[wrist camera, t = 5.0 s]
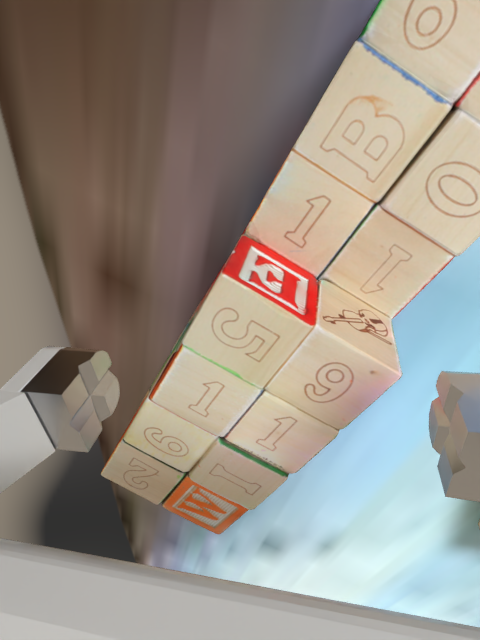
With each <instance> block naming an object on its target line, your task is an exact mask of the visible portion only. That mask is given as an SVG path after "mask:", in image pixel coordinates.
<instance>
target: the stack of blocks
mask: <svg viewBox="0 0 480 640" xmlns="http://www.w3.org/2000/svg"><path fill="white" fill-rule="evenodd" d="M479 236H480V0H380V1H379V3H378V5H377V7H376V9H375V10H374V12H373V14H372V16H371V17H370V19H369V21H368V23H367V24H366V26H365V28H364V29H363V31H362V33H361V35H360V36H359V38H358V39H357V40H356V41H355V42H354V44H353V45H352V47H351V49H350V50H349V52H348V54H347V56H346V57H345V59H344V61H343V62H342V64H341V66H340V67H339V69H338V71H337V73H336V74H335V76H334V78H333V79H332V81H331V83H330V85H329V86H328V88H327V90H326V91H325V93H324V95H323V96H322V98H321V100H320V102H319V103H318V105H317V107H316V108H315V110H314V112H313V114H312V115H311V117H310V119H309V120H308V122H307V124H306V126H305V127H304V129H303V131H302V132H301V134H300V136H299V137H298V139H297V141H296V143H295V144H294V146H293V148H292V149H291V151H290V153H289V155H288V156H287V158H286V160H285V161H284V163H283V165H282V167H281V168H280V170H279V172H278V173H277V175H276V177H275V179H274V180H273V182H272V184H271V186H270V187H269V189H268V191H267V193H266V195H265V196H264V198H263V200H262V202H261V203H260V205H259V207H258V209H257V210H256V212H255V214H254V215H253V216H252V218H251V220H250V222H249V224H248V225H247V227H246V229H245V230H244V232H243V234H242V235H241V236H240V238H239V240H238V242H237V244H236V246H235V247H234V249H233V251H232V253H231V254H230V256H229V258H228V259H227V261H226V263H225V264H224V265H223V267H222V269H221V270H220V272H219V273H218V275H217V277H216V278H215V280H214V282H213V283H212V285H211V286H210V288H209V290H208V291H207V293H206V295H205V296H204V298H203V299H202V300H201V302H200V303H199V305H198V307H197V308H196V310H195V312H194V313H193V315H192V317H191V318H190V320H189V321H188V323H187V325H186V326H185V328H184V330H183V331H182V333H181V335H180V336H179V338H178V340H177V342H176V343H175V345H174V347H173V348H172V350H171V354H170V355H169V357H168V358H167V360H166V361H165V363H164V365H163V366H162V368H161V370H160V371H159V373H158V375H157V376H156V378H155V380H154V382H153V383H152V385H151V387H150V389H149V390H148V392H147V394H146V395H145V397H144V399H143V401H142V402H141V404H140V406H139V408H138V410H137V411H136V413H135V415H134V417H133V418H132V420H131V422H130V424H129V426H128V427H127V429H126V430H125V432H124V434H123V436H122V437H121V439H120V441H119V442H118V444H117V446H116V448H115V449H114V451H113V453H112V454H111V456H110V458H109V460H108V461H107V463H106V465H105V466H104V468H103V470H102V472H101V475H102V476H103V477H105V478H107V479H109V480H111V481H113V482H115V483H116V484H118V485H120V486H122V487H124V488H126V489H128V490H130V491H132V492H134V493H135V494H137V495H139V496H141V497H143V498H145V499H147V500H149V501H151V502H152V503H154V504H156V505H158V504H160V503H162V506H163V507H164V508H166V509H167V510H169V511H171V512H173V513H175V514H177V515H179V516H181V517H183V518H185V519H187V520H189V521H191V522H193V523H195V524H197V525H199V526H201V527H203V528H206V529H208V530H210V531H212V532H214V533H216V534H221V533H222V532H223V531H225V530H226V529H227V528H228V527H229V526H230V525H231V524H233V523H234V522H235V521H236V520H237V519H239V518H240V517H241V516H242V515H243V514H244V513H245V512H247V511H248V510H249V509H250V510H252V509H255V508H256V507H257V506H258V505H259V504H260V503H261V502H263V501H264V500H265V499H266V498H267V497H268V496H269V495H270V494H272V493H273V492H274V491H275V490H276V489H277V488H278V487H279V486H280V485H282V484H283V483H284V482H285V481H286V480H287V478H288V475H289V473H296V472H297V471H298V470H299V469H301V468H302V467H303V466H304V465H305V464H306V463H307V462H308V461H310V460H311V459H312V458H313V457H314V456H316V455H317V454H318V453H319V452H320V451H321V450H322V449H323V448H324V447H325V446H326V445H328V444H329V443H330V442H331V441H332V440H333V439H335V437H336V436H337V435H338V432H339V430H340V429H344V428H345V427H346V426H347V425H349V424H350V423H351V422H352V421H353V420H354V419H355V418H356V417H357V416H359V415H360V414H361V413H362V412H363V411H364V410H365V409H366V408H367V407H369V406H370V405H371V404H372V403H373V402H374V401H375V400H377V399H378V398H379V397H380V396H381V395H382V394H383V393H384V392H385V391H386V390H388V389H389V388H390V387H391V386H392V385H393V384H394V383H395V382H396V381H398V380H399V379H400V378H401V376H402V374H403V373H402V371H401V367H400V362H399V356H398V351H397V346H396V342H395V337H394V332H393V326H392V321H391V320H392V319H393V318H394V317H395V316H396V315H397V314H398V313H399V312H400V311H401V310H402V309H403V308H404V307H405V306H406V305H407V304H408V303H409V302H410V301H411V300H412V299H413V298H414V297H415V296H416V295H417V294H418V293H419V292H420V291H421V290H422V289H423V288H424V287H425V286H426V285H427V284H428V283H429V282H430V281H431V280H432V279H433V278H434V277H435V276H436V275H437V274H438V273H439V272H440V271H441V270H442V269H443V268H444V267H445V266H446V265H447V264H448V263H449V262H450V261H451V260H452V259H453V258H454V257H455V256H459V255H461V254H462V253H463V252H464V251H465V250H466V249H467V248H468V247H469V246H470V245H471V244H472V243H473V242H474V241H475V240H476V239H477V238H478V237H479Z"/></svg>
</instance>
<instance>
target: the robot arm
mask: <svg viewBox="0 0 480 640" xmlns="http://www.w3.org/2000/svg"><path fill="white" fill-rule="evenodd" d="M111 364H112V363H111V360H110V358H109V355H108V353H107V352H105V351H103V350H94V349H83V348H71V347H66V348H65V347H55V346H47V347H44V348H42V349H41V350H39V351H38V353H36V354H35V355H34V356H33V357H32V358H31V359H30V360H29V361H28V362H27V363H26V364H25V365H24V366H23V367H22V368H21V369H20V370H19V371H18V372H17V373H16V374H15V375H14V376H13V377H12V378H11V379H10V380H9V381H8V382H7V383H6V384H5V385H4V386H3V387H2V388H1V389H0V493H1V492H3V491H4V490H5V489H7V488H8V487H9V486H11V485H12V484H13V483H14V482H16V481H17V480H18V479H20V478H21V477H22V476H24V475H25V474H26V473H28V472H29V471H30V470H32V469H33V468H34V467H35V466H37V465H38V464H39V463H41V462H42V461H43V460H44V459H46V458H47V457H49V456H50V455H51V454H52V453H54V452H55V449H59V450H70V451H80V452H89V450H90V449H91V447H92V445H93V444H94V442H95V441H96V439H97V437H98V436H99V434H100V433H101V431H102V424H101V421H103V420H105V419H106V418H108V417H109V416H111V415H112V413H113V412H114V410H115V408H116V406H117V403H118V399H119V395H120V391H119V383H118V380H117V377H115V376H114V375H113V374H112V373H111V372H110V371H109V368H110V366H111ZM436 387H437V391H438V394H439V397H438V398H436V399H435V400H434V401H432V403H431V408H430V413H429V432H430V439H431V443H432V447H433V448H434V449H435V450H436V451H437V452H438V453H439V454H440V459H439V462H438V466H437V467H438V471H439V474H440V478H441V482H442V486H443V489H444V493H445V497H451V498H458V499H465V500H471V501H478V502H480V373H469V372H451V371H442V372H441V373H440V375H439V377H438V380H437V384H436ZM0 640H480V628H479V627H474V626H469V625H463V624H458V623H453V622H447V621H442V620H437V619H431V618H426V617H421V616H415V615H410V614H405V613H399V612H394V611H389V610H383V609H378V608H373V607H367V606H362V605H357V604H351V603H346V602H341V601H335V600H330V599H325V598H319V597H314V596H309V595H303V594H298V593H293V592H287V591H282V590H277V589H271V588H266V587H261V586H255V585H250V584H245V583H239V582H234V581H229V580H223V579H218V578H213V577H207V576H202V575H196V574H191V573H186V572H180V571H175V570H170V569H164V568H159V567H154V566H148V565H143V564H138V563H132V562H127V561H121V560H116V559H111V558H105V557H100V556H95V555H89V554H84V553H78V552H73V551H68V550H62V549H57V548H52V547H46V546H41V545H36V544H30V543H25V542H20V541H14V540H8V539H3V538H0Z"/></svg>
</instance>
